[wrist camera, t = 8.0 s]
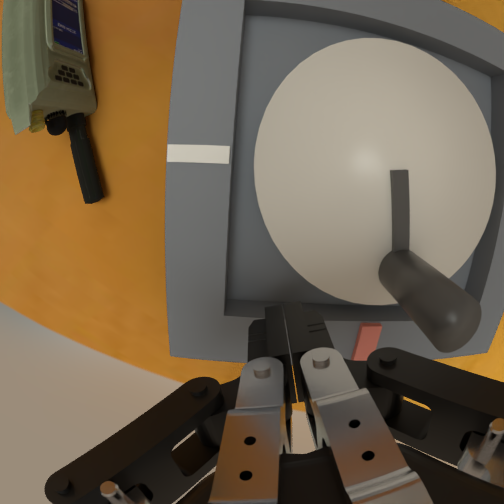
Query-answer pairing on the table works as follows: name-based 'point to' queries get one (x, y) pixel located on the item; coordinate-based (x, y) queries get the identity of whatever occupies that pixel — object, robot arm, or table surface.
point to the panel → (243, 182)
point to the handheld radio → (51, 77)
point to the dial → (379, 181)
